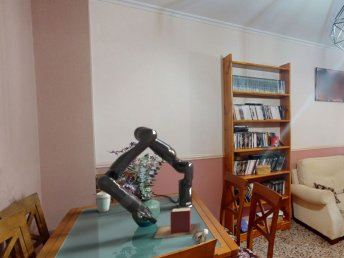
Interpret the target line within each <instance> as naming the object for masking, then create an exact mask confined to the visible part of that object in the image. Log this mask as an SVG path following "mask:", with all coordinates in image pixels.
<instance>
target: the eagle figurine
mask: <svg viewBox="0 0 344 258" xmlns="http://www.w3.org/2000/svg"><path fill="white" fill-rule="evenodd" d="M208 234H209V229H207V228H204V229H203V230H202V229H198V230H197V229H196V232H195V233H194V234H192V238H191V239H192V240H195V241H196V242H197V243H196V246H198V245H197V244H200V243H202V242H205V243H206V242H207V235H208Z"/></svg>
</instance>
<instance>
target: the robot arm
mask: <svg viewBox="0 0 344 258" xmlns="http://www.w3.org/2000/svg"><path fill="white" fill-rule="evenodd" d="M133 137H134V139H135V140H136V141H137V143H136V144H135V145H134V146H133V147H131V148H130V149H128V150H127V151H125V152H123V153H122V154H120V155H119V156H118V157H117V158H115V160H114V161H113V162H112V163H111V165H110V166H109V168H108V169H107V171H106V172H105V173H104V174H103V175H102V176H99V177H98V179H97V180H96V181H95V182H96V186H97V188H98V189H100V190H101V191H102V192H105V193H107V194H108V195H110V198H111V199H113V200H114V201H115V202H117V203H118V204H119V205H120V206H121V207H122V208H123V209H125V210H126V211H127V212H128V213H130V214H131V215H132V214H135V215H136V216H137V219H138V220H140V221H144V222H150V223H151V224H152V225H156V224H157V222H158V219H156V218H155V217H154V216H153V213H152V211H151V209H150V208H149V206H144V205H143V203H144V202H143V200H141V199H140V198H139V197H137V196H136V195H134V194H133V193H132V192H130V191H129V190H127V189H126V188H125V187H123V186H122V185H120V184H119V183H118V182H117V181H118V180H119V178H120V177H121V175H122V174H124V173H125V171H126V170H127V169H128V168H129V166H130V165H131V164H132V163H133V162H134V161H135V160H136V159H137V158H138V157H139V156H140V155H141V154H143V153H144V152H145V151H146V150H147V149H148V148H149V150H150V151H152V152H153V153H154V154H155V155H156V156H157V157H159V158H160V159H161V160H163V161H164V162H165V163H167V164H168V165H170V167H172V169H174V171H175V172H176V173H178V174H183V177H181V178H179V179H178V184H177V185H178V186H177V187H178V198H177V200H176V201H175V200H174V199H173V198H172V197H171V196H169V195H165V194H157V193H156V194H155V192H154V191H152V192H151V194H152V195H153V196H156V197H163V198H169V200H170V201H171V202H173V203H174V204H178V206H177V207H178V209H179V208H192V207H193V181H194V173H195V172H194V171H195V170H194V169H195V167H194V163H193V161H191V160H183V159H180V158H179V157H177V152H176V150H175V149H174V148H173V147H172V146H171V145H170V144H168V143H166V142H164V141H163V140H162V139H159V138H158V132H157V130H155V129H153V128H150V127H147V126H138V127H136V128H135V129H134V131H133Z"/></svg>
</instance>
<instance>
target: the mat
mask: <svg viewBox="0 0 344 258" xmlns="http://www.w3.org/2000/svg"><path fill="white" fill-rule="evenodd" d="M199 226H200V223H191V229H190V232H180V233H170V225H167V226H159V227H158V229H157V230H156V232H155V234H154V237H153V239H159V238H160V239H161V238H170V237H179V236H180V237H181V236H182V237H183V236H191V235H193V234H194V233H195V232H196V229H197V230H199Z"/></svg>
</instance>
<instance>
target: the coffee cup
mask: <svg viewBox="0 0 344 258" xmlns="http://www.w3.org/2000/svg"><path fill="white" fill-rule="evenodd" d="M95 199H96V205H97V211H98V213H105V212H108V211H109V210H110V205H111V196H110V195H108V194H107V193H105V192H104V191H99V192H98V193H96V195H95Z"/></svg>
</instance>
